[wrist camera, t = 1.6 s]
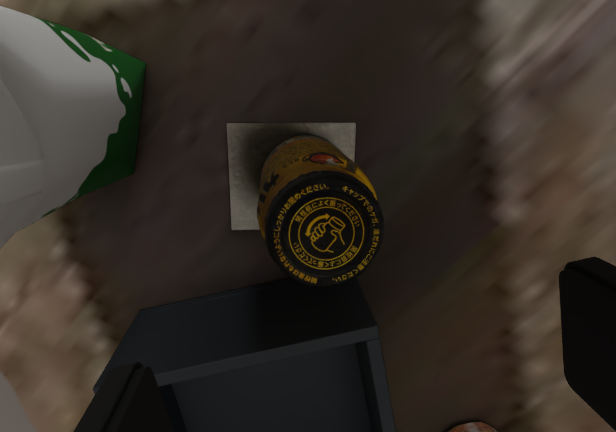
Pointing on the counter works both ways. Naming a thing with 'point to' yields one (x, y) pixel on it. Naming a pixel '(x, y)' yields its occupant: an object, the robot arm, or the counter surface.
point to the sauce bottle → (472, 427)
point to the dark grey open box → (265, 360)
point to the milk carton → (61, 117)
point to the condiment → (305, 198)
